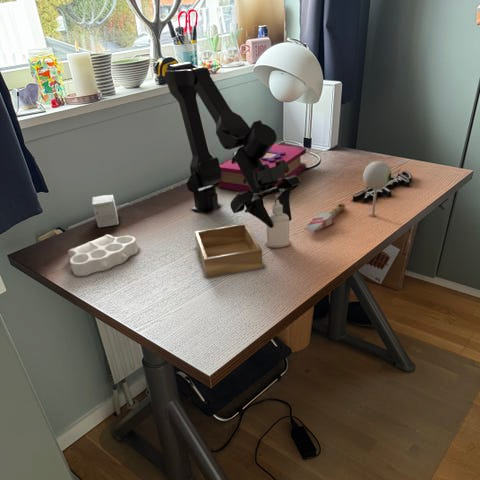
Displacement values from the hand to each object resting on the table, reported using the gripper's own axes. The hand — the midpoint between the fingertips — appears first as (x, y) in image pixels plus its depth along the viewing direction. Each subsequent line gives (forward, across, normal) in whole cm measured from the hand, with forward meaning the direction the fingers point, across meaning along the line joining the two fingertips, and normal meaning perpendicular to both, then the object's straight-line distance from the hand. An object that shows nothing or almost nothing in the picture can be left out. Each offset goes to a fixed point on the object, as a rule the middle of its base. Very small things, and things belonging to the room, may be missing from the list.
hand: (281, 223), depth 116 cm
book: (-26, +27, +36) cm, 53 cm away
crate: (+1, -14, +8) cm, 16 cm away
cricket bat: (+2, +18, +7) cm, 20 cm away
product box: (-28, -28, +38) cm, 55 cm away
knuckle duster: (-13, -38, +23) cm, 47 cm away
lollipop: (+7, +30, +2) cm, 31 cm away
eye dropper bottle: (+4, 0, +6) cm, 7 cm away
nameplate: (-1, +48, +10) cm, 49 cm away
